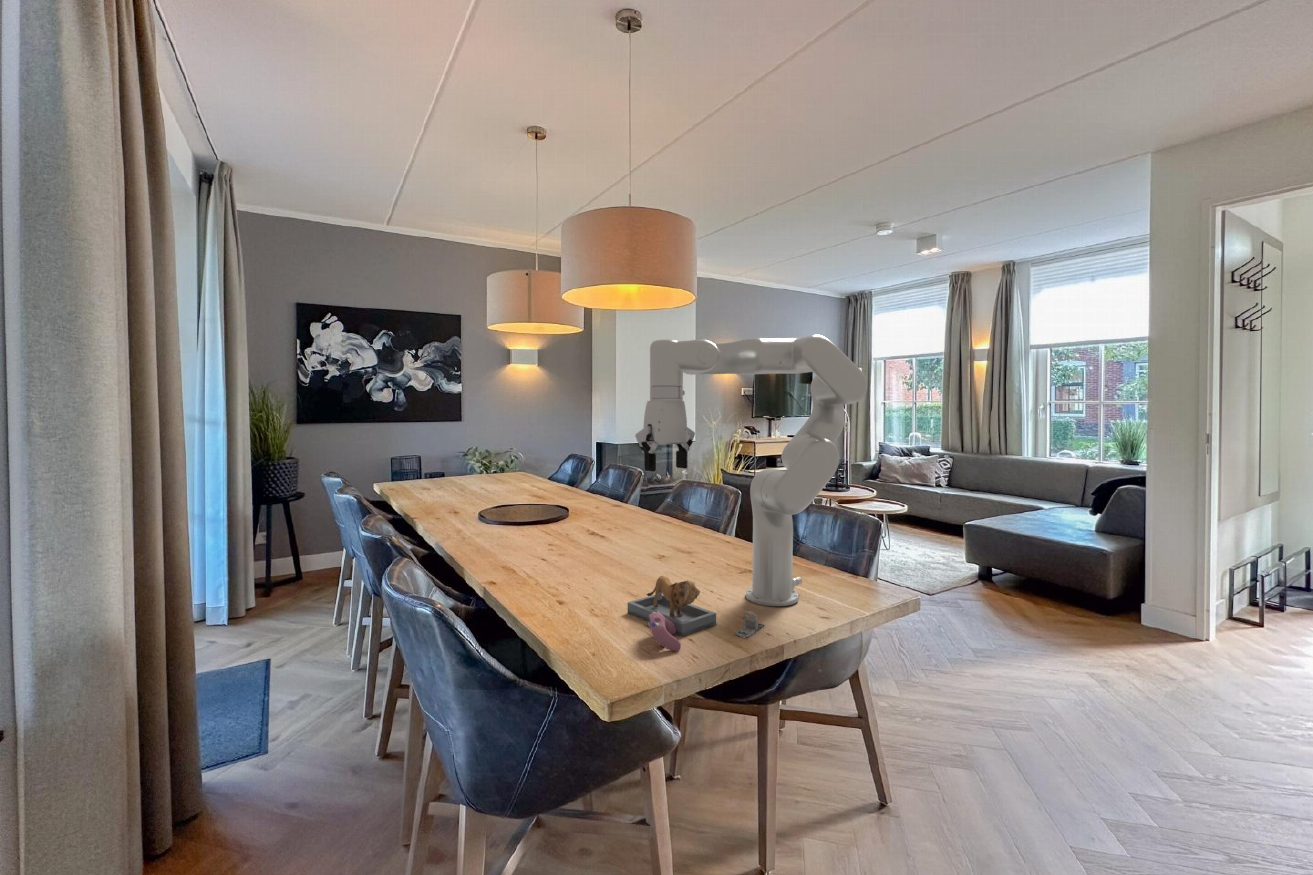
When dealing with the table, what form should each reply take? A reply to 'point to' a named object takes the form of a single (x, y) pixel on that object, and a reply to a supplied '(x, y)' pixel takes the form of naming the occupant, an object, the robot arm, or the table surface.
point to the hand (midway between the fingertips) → (666, 469)
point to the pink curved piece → (663, 631)
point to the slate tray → (684, 624)
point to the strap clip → (749, 626)
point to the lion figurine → (675, 593)
